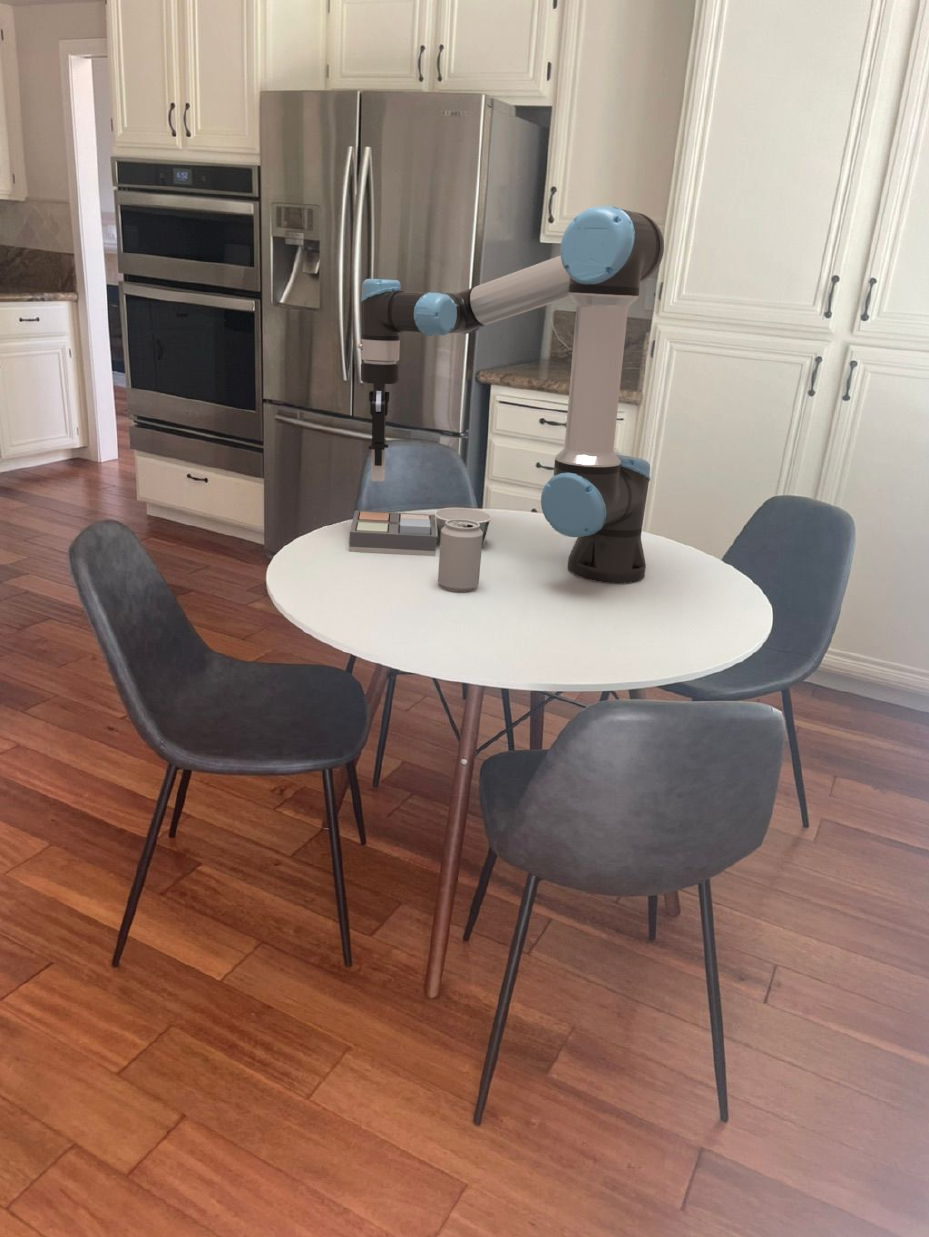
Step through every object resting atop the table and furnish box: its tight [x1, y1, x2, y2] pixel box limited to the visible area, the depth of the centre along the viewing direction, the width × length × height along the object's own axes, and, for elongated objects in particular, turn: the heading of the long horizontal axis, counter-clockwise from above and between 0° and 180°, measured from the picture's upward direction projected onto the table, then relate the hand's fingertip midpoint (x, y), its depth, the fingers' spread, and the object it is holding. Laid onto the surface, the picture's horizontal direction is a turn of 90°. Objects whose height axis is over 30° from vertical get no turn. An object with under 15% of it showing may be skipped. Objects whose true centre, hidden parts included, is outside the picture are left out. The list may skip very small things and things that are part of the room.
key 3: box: [400, 518, 430, 535], centre depth 189 cm, size 6×6×2 cm
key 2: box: [359, 511, 389, 521], centre depth 197 cm, size 6×6×2 cm
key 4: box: [401, 513, 430, 519], centre depth 198 cm, size 6×6×2 cm
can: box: [437, 519, 483, 593], centre depth 168 cm, size 8×8×12 cm
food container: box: [433, 507, 493, 549], centre depth 195 cm, size 12×12×6 cm
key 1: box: [357, 522, 388, 533], centre depth 189 cm, size 6×6×2 cm
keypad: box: [348, 510, 437, 557], centre depth 194 cm, size 17×17×4 cm
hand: (378, 480), depth 193 cm, fingers closed
